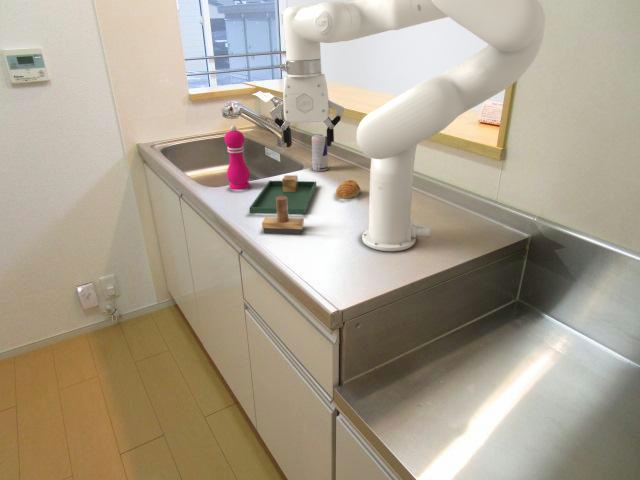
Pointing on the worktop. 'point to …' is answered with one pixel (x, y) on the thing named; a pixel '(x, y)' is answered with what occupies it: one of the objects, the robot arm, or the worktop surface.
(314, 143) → the energy drink
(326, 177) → the worktop surface
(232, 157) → the pepper mill
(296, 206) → the tray
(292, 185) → the wooden cube
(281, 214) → the brush
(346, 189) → the pastry
